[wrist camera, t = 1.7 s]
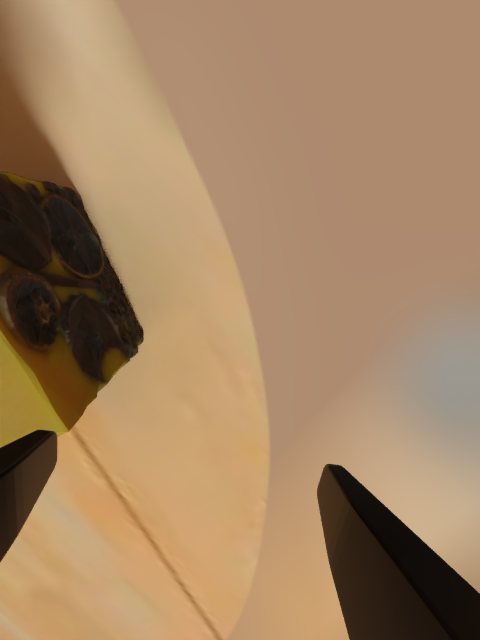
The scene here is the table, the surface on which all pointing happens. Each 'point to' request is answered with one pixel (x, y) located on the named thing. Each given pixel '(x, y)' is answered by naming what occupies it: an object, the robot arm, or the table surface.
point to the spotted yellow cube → (55, 310)
